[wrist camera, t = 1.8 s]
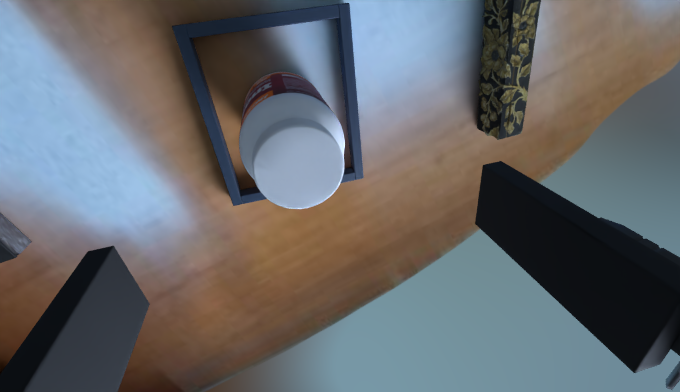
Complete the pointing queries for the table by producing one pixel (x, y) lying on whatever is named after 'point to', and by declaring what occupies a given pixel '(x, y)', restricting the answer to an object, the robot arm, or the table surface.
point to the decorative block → (506, 65)
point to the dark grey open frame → (229, 25)
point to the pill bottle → (291, 141)
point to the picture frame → (11, 240)
